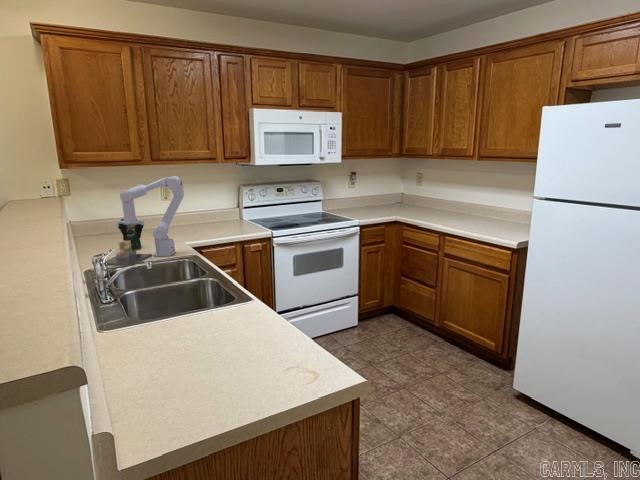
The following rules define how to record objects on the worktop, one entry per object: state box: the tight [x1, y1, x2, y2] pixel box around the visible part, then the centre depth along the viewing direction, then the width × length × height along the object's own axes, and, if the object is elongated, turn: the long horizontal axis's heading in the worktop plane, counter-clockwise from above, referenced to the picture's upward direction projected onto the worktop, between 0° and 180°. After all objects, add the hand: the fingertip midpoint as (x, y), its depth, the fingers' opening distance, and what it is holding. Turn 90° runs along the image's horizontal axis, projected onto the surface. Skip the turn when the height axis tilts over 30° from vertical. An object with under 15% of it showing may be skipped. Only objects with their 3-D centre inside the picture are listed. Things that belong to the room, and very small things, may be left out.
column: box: [118, 240, 133, 254], centre depth 214 cm, size 4×4×6 cm
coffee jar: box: [119, 218, 143, 251], centre depth 238 cm, size 10×8×19 cm
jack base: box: [105, 250, 153, 266], centre depth 215 cm, size 18×18×4 cm
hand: (132, 237), depth 221 cm, fingers open, 7 cm apart
